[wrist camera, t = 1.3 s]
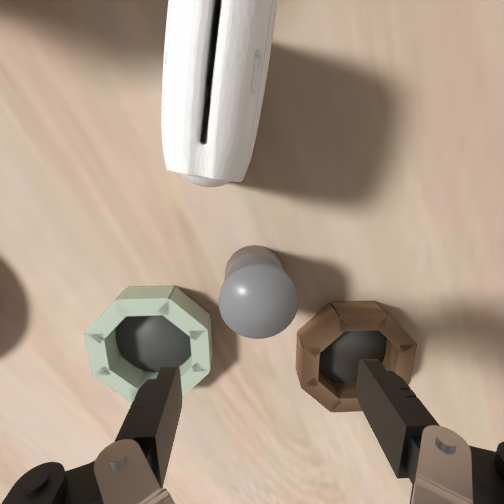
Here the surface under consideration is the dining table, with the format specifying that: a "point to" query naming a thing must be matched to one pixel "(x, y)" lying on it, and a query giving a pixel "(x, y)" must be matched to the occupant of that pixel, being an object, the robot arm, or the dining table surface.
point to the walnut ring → (349, 351)
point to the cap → (257, 294)
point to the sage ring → (149, 339)
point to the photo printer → (214, 86)
